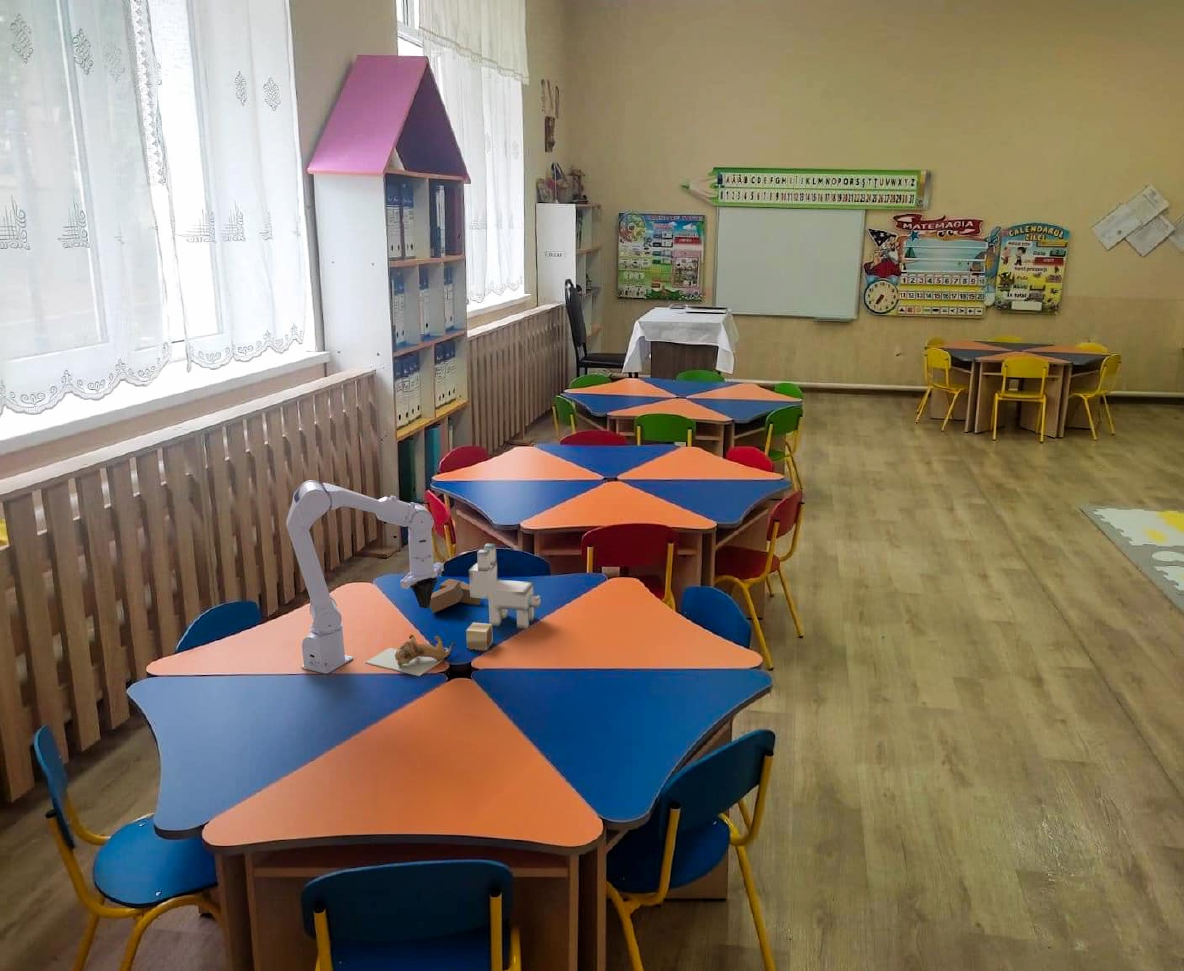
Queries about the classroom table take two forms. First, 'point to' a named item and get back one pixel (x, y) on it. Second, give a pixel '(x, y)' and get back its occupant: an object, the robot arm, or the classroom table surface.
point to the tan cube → (479, 636)
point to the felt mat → (414, 666)
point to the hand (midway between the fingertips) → (424, 607)
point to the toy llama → (501, 590)
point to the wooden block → (451, 595)
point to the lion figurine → (420, 651)
